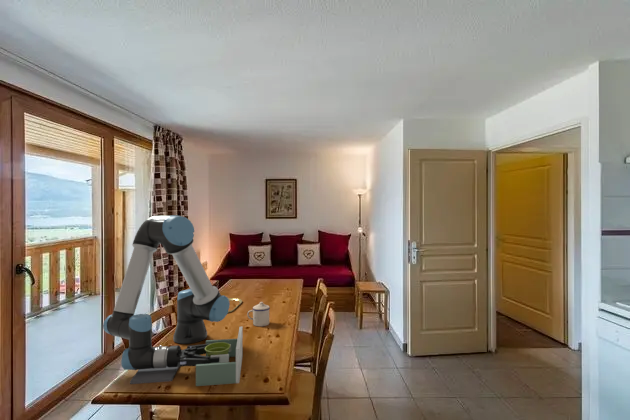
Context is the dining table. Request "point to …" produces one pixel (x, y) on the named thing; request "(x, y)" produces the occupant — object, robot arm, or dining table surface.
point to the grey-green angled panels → (222, 365)
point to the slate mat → (154, 375)
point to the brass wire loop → (235, 300)
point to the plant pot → (217, 349)
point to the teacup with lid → (260, 314)
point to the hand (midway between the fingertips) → (229, 352)
